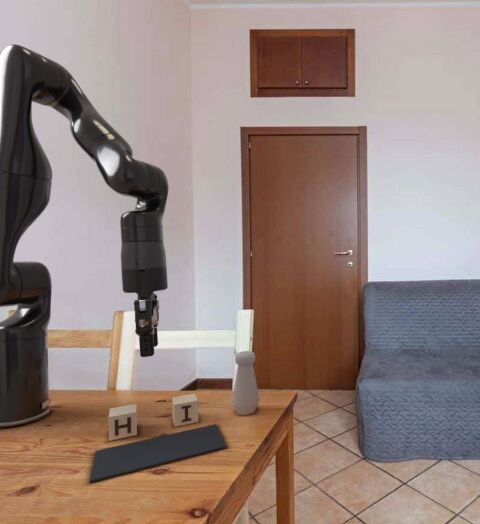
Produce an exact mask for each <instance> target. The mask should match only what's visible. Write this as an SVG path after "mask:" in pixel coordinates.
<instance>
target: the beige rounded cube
mask: <svg viewBox="0 0 480 524" xmlns="http://www.w3.org/2000/svg"><path fill="white" fill-rule="evenodd" d="M137 407H138V406H137V403H134V404H127V405H122V406H117V407H111V408H109V412H108V441H109V442H111V441H114V440H116V441H117V440H120V439H125V438H129V437H134V436H138V413H137V412H138V410H137V409H138V408H137Z"/></svg>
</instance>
